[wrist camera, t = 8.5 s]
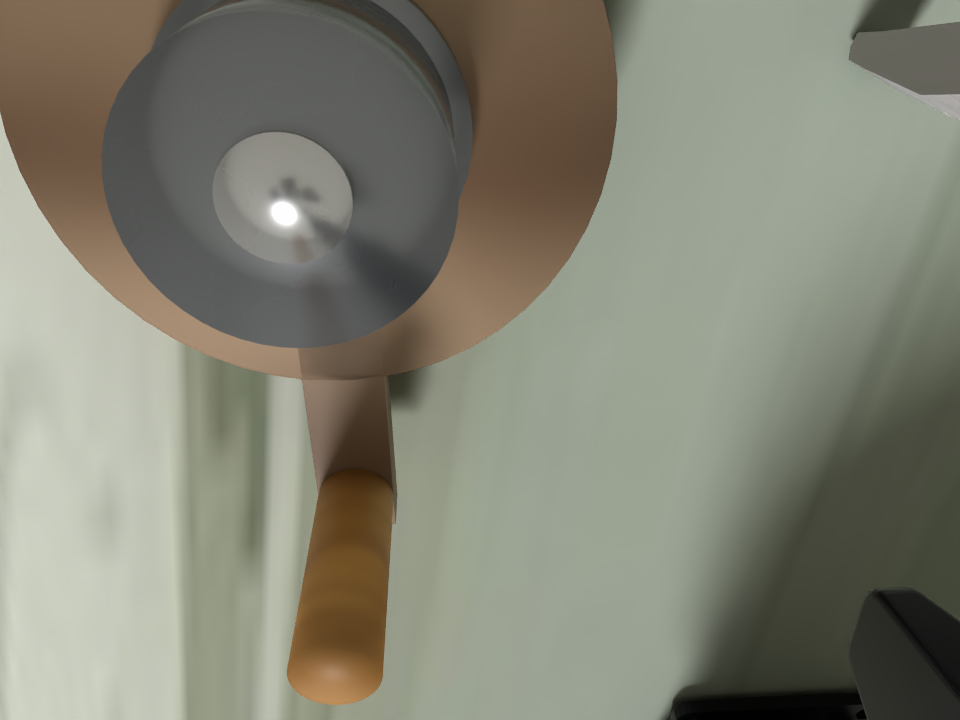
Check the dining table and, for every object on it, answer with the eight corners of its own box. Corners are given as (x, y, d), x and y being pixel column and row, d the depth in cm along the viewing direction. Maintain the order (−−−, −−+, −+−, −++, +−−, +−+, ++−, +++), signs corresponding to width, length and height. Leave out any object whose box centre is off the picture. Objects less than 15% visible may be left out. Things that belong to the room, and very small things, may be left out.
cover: (469, -48, 12) (481, -20, 9) (472, 268, 15) (482, 364, 12) (115, -46, 12) (19, -15, 9) (183, 274, 15) (126, 374, 12)
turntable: (-32, -235, 13) (-416, -308, 7) (615, -236, 13) (758, -309, 7) (157, 469, 20) (46, 718, 14) (570, 455, 20) (624, 691, 15)
